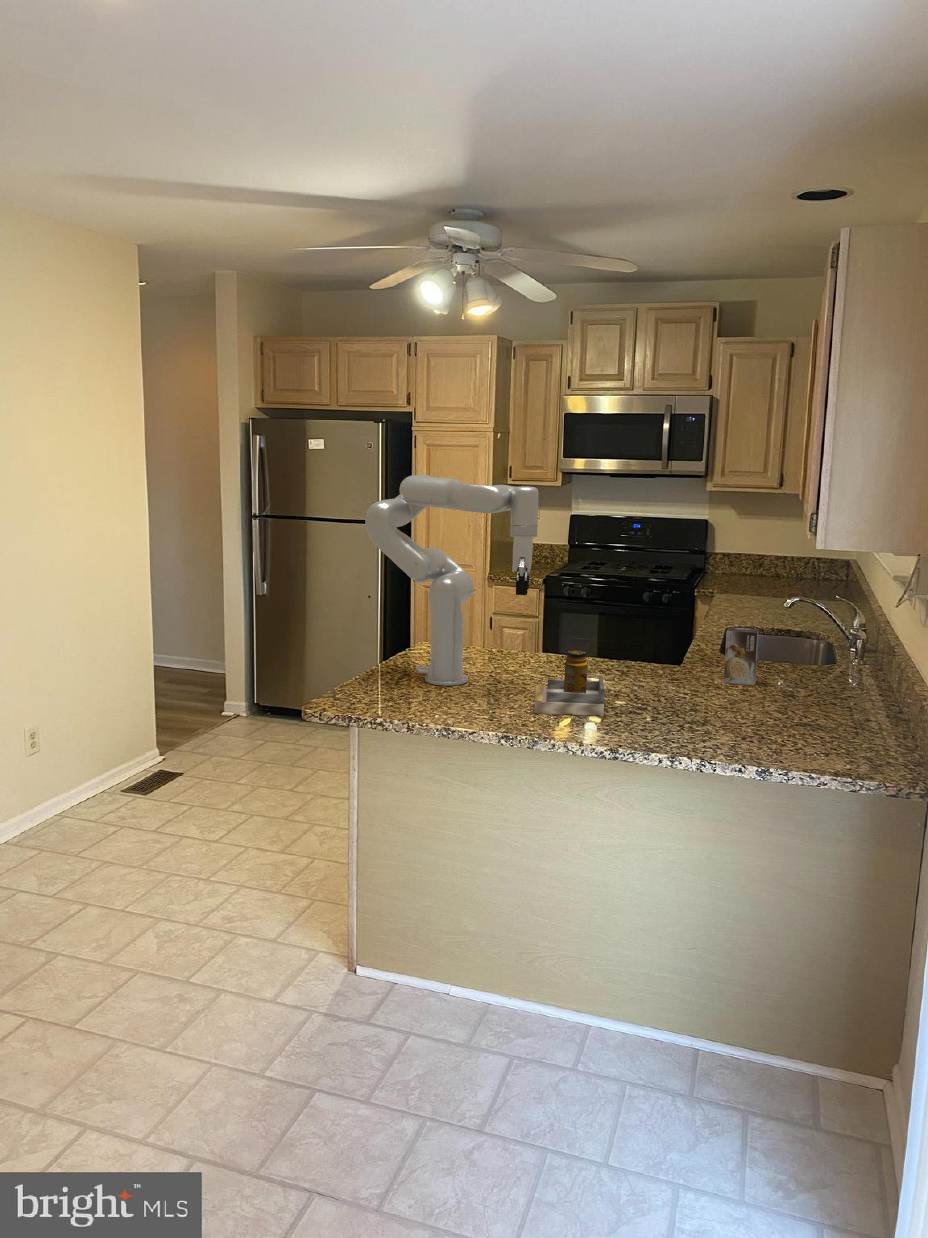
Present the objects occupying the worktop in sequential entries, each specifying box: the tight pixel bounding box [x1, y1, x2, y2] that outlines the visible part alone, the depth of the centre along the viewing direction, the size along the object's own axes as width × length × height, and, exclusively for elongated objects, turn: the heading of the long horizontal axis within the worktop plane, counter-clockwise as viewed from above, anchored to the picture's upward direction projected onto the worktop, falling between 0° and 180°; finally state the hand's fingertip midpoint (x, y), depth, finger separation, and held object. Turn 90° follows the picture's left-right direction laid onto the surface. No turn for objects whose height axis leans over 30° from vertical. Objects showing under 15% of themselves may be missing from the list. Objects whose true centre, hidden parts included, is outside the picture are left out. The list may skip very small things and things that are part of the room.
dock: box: [533, 675, 605, 717], centre depth 250 cm, size 18×16×7 cm
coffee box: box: [723, 626, 760, 686], centre depth 277 cm, size 9×6×16 cm
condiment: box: [563, 649, 588, 693], centre depth 249 cm, size 7×8×12 cm
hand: (522, 592), depth 261 cm, fingers open, 9 cm apart
